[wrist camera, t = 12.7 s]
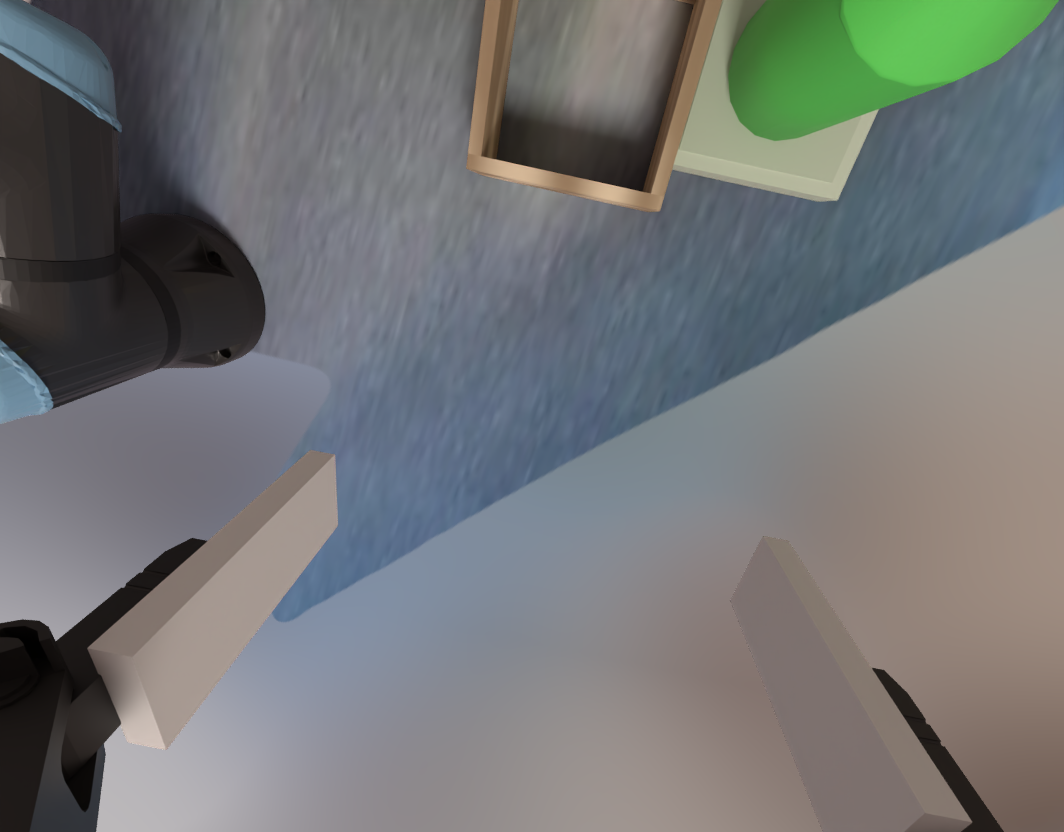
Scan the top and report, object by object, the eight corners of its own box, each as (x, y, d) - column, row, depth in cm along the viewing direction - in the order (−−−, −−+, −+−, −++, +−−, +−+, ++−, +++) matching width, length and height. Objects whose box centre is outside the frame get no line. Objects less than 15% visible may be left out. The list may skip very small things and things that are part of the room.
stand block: (655, 165, 37) (661, 161, 34) (718, -58, 31) (732, -87, 28) (818, 201, 36) (838, 200, 34) (913, -17, 30) (947, -41, 28)
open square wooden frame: (482, 175, 38) (466, 168, 33) (512, -54, 32) (498, -109, 26) (648, 212, 38) (659, 211, 33) (712, -11, 32) (739, -58, 26)
